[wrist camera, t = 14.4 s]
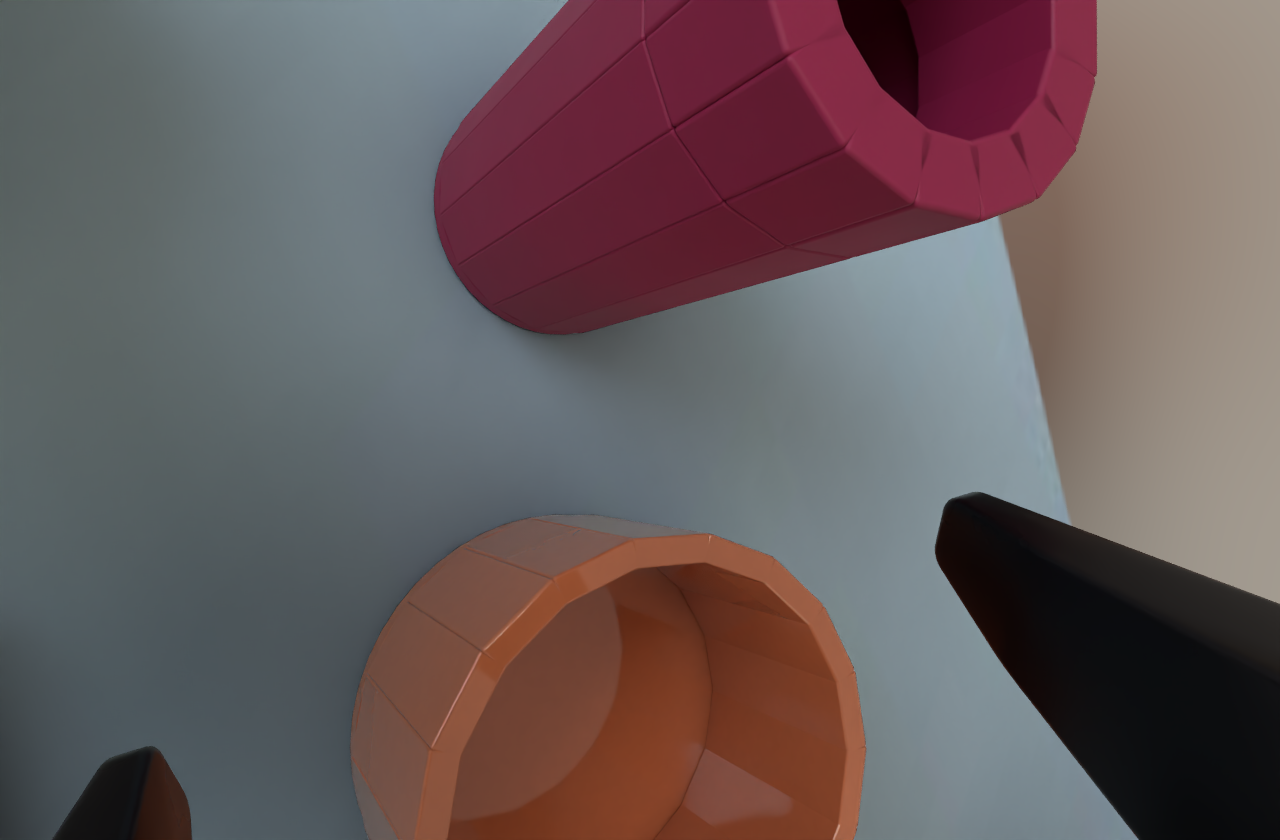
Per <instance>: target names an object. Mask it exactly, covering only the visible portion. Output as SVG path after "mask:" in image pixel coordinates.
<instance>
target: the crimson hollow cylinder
mask: <svg viewBox="0 0 1280 840" xmlns="http://www.w3.org/2000/svg"><path fill="white" fill-rule="evenodd" d="M1096 3H1097V2H1096V0H568V2H567V3H566V4H565V5H564V6H563V7H562V8H561V9H560V11H559V12H558V13H557V14H556V15H555V16H554V17H553V19H552V20H551V21H550V22H549V23H548V24H547V25H546V26H545V28H544V29H543V30H542V31H541V32H540V33H539V34H538V36H537V37H536V38H535V39H534V40H533V41H532V42H531V43H530V45H529V46H528V47H527V48H526V49H525V50H524V51H523V53H522V54H521V55H520V56H519V57H518V58H517V59H516V60H515V62H514V63H513V64H512V65H511V66H510V67H509V68H508V70H507V71H506V72H505V73H504V74H503V75H502V76H501V77H500V79H499V80H498V81H497V82H496V83H495V84H494V85H493V87H492V88H491V89H490V90H489V91H488V92H487V93H486V94H485V96H484V97H483V98H482V99H481V100H480V101H479V102H478V104H477V105H476V106H475V107H474V108H473V109H472V110H471V111H470V113H469V114H468V115H467V116H466V117H465V118H464V120H463V121H462V122H461V124H460V126H459V128H458V130H457V131H456V132H455V134H454V135H453V136H452V138H451V140H450V141H449V143H448V145H447V147H446V148H445V150H444V153H443V155H442V158H441V161H440V163H439V167H438V171H437V175H436V180H435V190H434V210H435V218H436V224H437V230H438V233H439V236H440V240H441V243H442V246H443V248H444V251H445V253H446V255H447V258H448V260H449V262H450V264H451V265H452V267H453V269H454V271H455V272H456V274H457V276H458V277H459V278H460V280H461V281H462V282H463V284H464V285H465V286H466V288H467V289H468V290H469V291H470V292H471V293H472V294H473V295H474V296H475V297H476V298H477V299H478V301H479V302H481V303H482V304H483V305H484V306H486V307H487V308H488V309H489V310H490V311H492V312H493V313H495V314H496V315H498V316H499V317H501V318H503V319H504V320H506V321H508V322H510V323H512V324H514V325H517V326H519V327H521V328H524V329H528V330H531V331H534V332H540V333H546V334H572V333H584V332H588V331H591V330H595V329H598V328H602V327H606V326H609V325H613V324H616V323H620V322H624V321H627V320H631V319H634V318H638V317H642V316H645V315H649V314H652V313H656V312H660V311H663V310H667V309H670V308H674V307H677V306H681V305H685V304H688V303H692V302H695V301H699V300H703V299H706V298H710V297H713V296H717V295H721V294H724V293H728V292H731V291H735V290H739V289H742V288H746V287H749V286H753V285H756V284H760V283H764V282H767V281H771V280H774V279H778V278H782V277H785V276H789V275H792V274H796V273H800V272H803V271H807V270H810V269H814V268H818V267H821V266H825V265H828V264H832V263H836V262H839V261H843V260H846V259H850V258H852V257H855V256H856V257H857V256H860V255H864V254H867V253H871V252H875V251H878V250H882V249H885V248H889V247H892V246H896V245H900V244H903V243H907V242H910V241H914V240H918V239H921V238H925V237H928V236H932V235H936V234H939V233H943V232H946V231H950V230H954V229H957V228H961V227H964V226H968V225H971V224H975V223H979V222H982V221H985V220H988V219H990V218H993V217H995V216H998V215H1001V214H1003V213H1006V212H1008V211H1011V210H1013V209H1016V208H1019V207H1021V206H1024V205H1027V204H1029V203H1031V202H1033V201H1034V200H1035V199H1038V198H1039V197H1040V196H1041V195H1042V194H1043V193H1044V191H1045V190H1046V189H1047V187H1048V186H1049V185H1050V184H1051V182H1052V181H1053V180H1054V178H1055V177H1056V176H1057V175H1058V173H1059V172H1060V171H1061V169H1062V168H1063V167H1064V165H1065V164H1066V163H1067V162H1068V160H1069V159H1070V158H1071V156H1072V155H1073V154H1074V152H1075V151H1076V145H1077V144H1078V141H1079V138H1080V135H1081V131H1082V127H1083V124H1084V120H1085V116H1086V113H1087V109H1088V106H1089V102H1090V98H1091V95H1092V91H1093V88H1094V84H1095V79H1094V77H1095V76H1096V74H1097V4H1096Z"/></svg>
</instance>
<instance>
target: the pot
mask: <svg viewBox="0 0 1280 840" xmlns="http://www.w3.org/2000/svg"><path fill="white" fill-rule="evenodd" d="M865 745H866V741H865V735H864V728H863V721H862V714H861V707H860V701H859V694H858V687H857V680H856V673H855V671H854V667H853V665H852V663H851V661H850V659H849V657H848V655H847V653H846V651H845V648H844V646H843V644H842V642H841V640H840V638H839V636H838V634H837V632H836V630H835V627H834V625H833V623H832V621H831V619H830V617H829V615H828V613H827V611H826V609H825V607H823V605H822V603H821V602H820V601H819V600H818V599H817V598H816V597H815V596H814V595H813V594H811V593H810V592H809V591H808V590H807V589H806V588H805V587H804V586H803V585H802V584H801V583H800V582H799V581H798V580H797V579H796V578H795V577H794V576H793V575H792V574H791V573H790V572H789V571H788V570H787V569H785V568H784V567H783V566H782V565H781V564H780V563H779V562H778V561H777V560H776V559H774V557H772V556H770V555H767V554H764V553H762V552H759V551H756V550H754V549H751V548H748V547H745V546H743V545H740V544H737V543H735V542H732V541H729V540H726V539H724V538H721V537H718V536H716V535H713V534H709V533H703V532H697V531H691V530H685V529H679V528H673V527H666V526H660V525H654V524H648V523H642V522H636V521H630V520H623V519H617V518H611V517H605V516H599V515H546V516H538V517H530V518H526V519H522V520H518V521H515V522H511V523H507V524H504V525H502V526H500V527H497V528H495V529H492V530H490V531H487V532H485V533H483V534H481V535H479V536H477V537H475V538H474V539H472V540H470V541H468V542H467V543H465V544H463V545H461V546H460V547H458V548H457V549H455V550H454V551H453V552H452V553H450V554H449V555H448V556H446V557H445V558H444V559H442V560H441V561H440V562H438V563H437V564H436V565H435V566H434V567H433V568H432V569H431V570H429V571H428V572H427V573H426V574H425V575H424V576H423V577H422V578H421V579H420V580H419V581H418V582H417V583H416V584H415V585H414V586H413V588H412V589H411V590H410V591H409V593H408V594H407V595H406V596H405V597H404V599H403V600H402V601H401V602H400V604H399V605H398V606H397V607H396V609H395V611H394V612H393V614H392V615H391V617H390V618H389V620H388V622H387V623H386V625H385V626H384V628H383V630H382V631H381V633H380V635H379V637H378V639H377V641H376V643H375V645H374V648H373V650H372V652H371V654H370V656H369V658H368V660H367V663H366V666H365V669H364V672H363V675H362V678H361V681H360V684H359V687H358V691H357V696H356V701H355V706H354V711H353V716H352V728H351V742H350V753H351V769H352V778H353V783H354V788H355V793H356V798H357V802H358V806H359V808H360V811H361V814H362V817H363V822H364V828H365V832H366V834H367V836H368V838H369V840H853V839H854V836H855V833H856V831H857V828H856V827H857V826H858V818H859V809H860V800H861V791H862V782H863V774H864V765H865V756H866V747H865Z"/></svg>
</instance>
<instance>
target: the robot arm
mask: <svg viewBox="0 0 1280 840" xmlns="http://www.w3.org/2000/svg"><path fill="white" fill-rule="evenodd" d="M935 555H936V559H937V562H938V564H939V566H940V568H941V570H942V571H943V573H944V574H945V576H946V578H947V579H948V581H949V582H950V584H951V585H952V587H953V588H954V590H955V592H956V593H957V595H958V596H959V598H960V599H961V601H962V603H963V604H964V606H965V607H966V609H967V610H968V612H969V614H970V615H971V617H972V618H973V620H974V621H975V623H976V625H977V626H978V628H979V629H980V631H981V632H982V634H983V636H984V637H985V639H986V640H987V642H988V643H989V645H990V647H991V648H992V650H993V651H994V653H995V654H996V656H997V657H998V659H999V660H1000V662H1001V663H1002V664H1003V666H1004V667H1005V669H1006V670H1007V671H1008V673H1009V674H1010V675H1011V677H1012V678H1013V679H1014V681H1015V682H1016V683H1017V685H1018V686H1019V687H1020V689H1021V690H1022V691H1023V692H1024V694H1025V695H1026V696H1027V697H1028V699H1029V700H1030V701H1031V703H1032V704H1033V705H1034V706H1035V708H1036V709H1037V710H1038V712H1039V713H1040V714H1041V715H1042V717H1043V718H1044V719H1045V720H1046V722H1047V723H1048V724H1049V726H1050V727H1051V728H1052V729H1053V731H1054V732H1055V733H1056V735H1057V736H1058V737H1059V738H1060V740H1061V741H1062V742H1063V743H1064V745H1065V746H1066V747H1067V749H1068V750H1069V751H1070V752H1071V754H1072V755H1073V756H1074V758H1075V759H1076V760H1077V761H1078V763H1079V764H1080V765H1081V766H1082V768H1083V769H1084V770H1085V772H1086V773H1087V774H1088V775H1089V777H1090V778H1091V779H1092V781H1093V782H1094V783H1095V784H1096V786H1097V787H1098V788H1099V789H1100V791H1101V792H1102V793H1103V795H1104V796H1105V797H1106V798H1107V800H1108V801H1109V802H1110V804H1111V805H1112V806H1113V807H1114V809H1115V810H1116V811H1117V812H1118V814H1119V815H1120V816H1121V818H1122V819H1123V820H1124V821H1125V823H1126V824H1127V825H1128V827H1129V828H1130V829H1131V830H1132V832H1133V833H1134V834H1135V835H1136V837H1137V838H1138V839H1139V840H1280V604H1278V603H1276V602H1273V601H1270V600H1268V599H1265V598H1262V597H1260V596H1257V595H1254V594H1252V593H1249V592H1246V591H1244V590H1241V589H1238V588H1235V587H1233V586H1230V585H1227V584H1225V583H1222V582H1220V581H1217V580H1214V579H1212V578H1208V577H1206V576H1204V575H1201V574H1198V573H1196V572H1193V571H1190V570H1187V569H1185V568H1182V567H1180V566H1177V565H1174V564H1172V563H1169V562H1166V561H1164V560H1161V559H1158V558H1155V557H1153V556H1150V555H1148V554H1145V553H1142V552H1140V551H1137V550H1134V549H1132V548H1129V547H1126V546H1124V545H1121V544H1118V543H1115V542H1113V541H1110V540H1107V539H1105V538H1102V537H1099V536H1097V535H1094V534H1092V533H1089V532H1086V531H1083V530H1081V529H1078V528H1076V527H1073V526H1070V525H1068V524H1065V523H1062V522H1060V521H1057V520H1054V519H1052V518H1049V517H1046V516H1044V515H1041V514H1038V513H1036V512H1033V511H1030V510H1028V509H1025V508H1022V507H1020V506H1017V505H1014V504H1012V503H1009V502H1006V501H1004V500H1001V499H998V498H996V497H993V496H990V495H988V494H985V493H982V492H972V493H968V494H965V495H962V496H958V497H955V498H952V499H950V500H949V501H948V502H947V503H946V504H945V506H944V509H943V514H942V518H941V522H940V527H939V531H938V535H937V540H936V544H935ZM52 840H192V831H191V816H190V809H189V804H188V800H187V798H186V795H185V793H184V791H183V789H182V787H181V786H180V784H179V782H178V780H177V779H176V777H175V775H174V774H173V772H172V770H171V768H170V767H169V765H168V763H167V762H166V760H165V758H164V756H163V755H162V753H161V752H160V751H159V750H158V749H157V748H156V747H153V746H149V747H147V746H146V747H143V748H140V749H137V750H133V751H130V752H127V753H124V754H120V755H117V756H114V757H112V758H109V759H108V760H106V761H105V762H104V763H103V764H102V765H101V766H100V767H99V769H98V770H97V772H96V773H95V775H94V776H93V778H92V779H91V781H90V782H89V784H88V785H87V787H86V788H85V790H84V791H83V793H82V795H81V796H80V798H79V799H78V801H77V802H76V804H75V805H74V807H73V808H72V810H71V811H70V813H69V814H68V816H67V817H66V819H65V820H64V822H63V823H62V825H61V826H60V828H59V830H58V831H57V833H56V834H55V836H54V837H53V839H52Z"/></svg>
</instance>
